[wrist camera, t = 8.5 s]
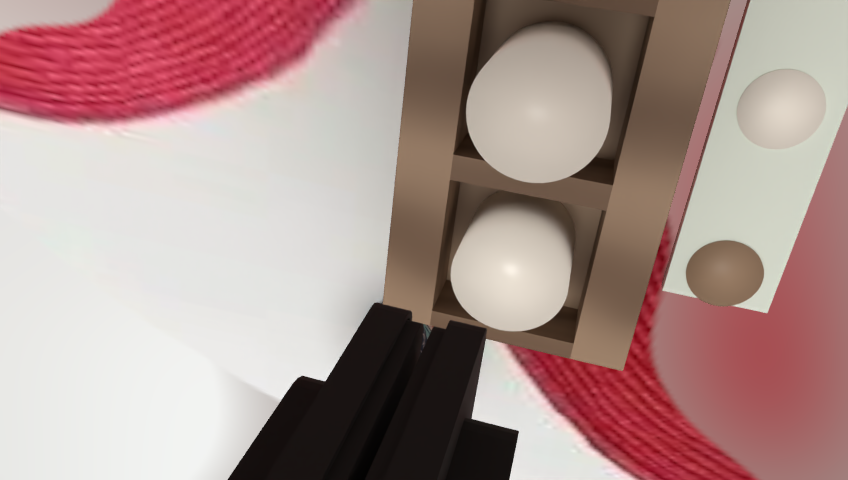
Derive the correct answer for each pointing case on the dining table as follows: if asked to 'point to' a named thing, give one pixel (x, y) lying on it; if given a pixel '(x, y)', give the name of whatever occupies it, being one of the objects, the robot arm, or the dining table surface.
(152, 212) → the dining table surface
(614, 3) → the wooden compartment tray
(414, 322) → the robot arm
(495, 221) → the button
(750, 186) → the card
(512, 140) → the button mid
